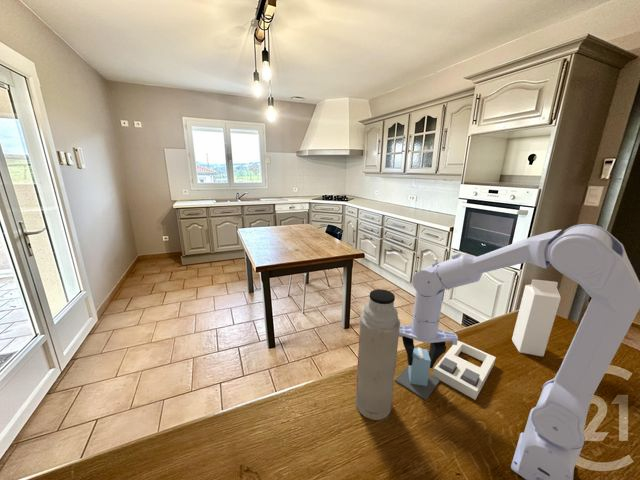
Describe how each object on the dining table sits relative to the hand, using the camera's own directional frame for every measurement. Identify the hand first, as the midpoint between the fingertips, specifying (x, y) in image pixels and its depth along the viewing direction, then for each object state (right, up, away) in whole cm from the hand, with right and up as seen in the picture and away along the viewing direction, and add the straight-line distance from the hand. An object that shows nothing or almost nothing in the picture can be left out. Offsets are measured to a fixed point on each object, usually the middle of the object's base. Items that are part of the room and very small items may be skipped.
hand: (419, 363), depth 65 cm
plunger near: (+12, -5, 0) cm, 13 cm away
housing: (+14, -4, +5) cm, 15 cm away
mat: (0, -5, +2) cm, 5 cm away
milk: (+37, -2, +14) cm, 40 cm away
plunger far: (+8, -4, +3) cm, 10 cm away
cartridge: (0, -5, +2) cm, 5 cm away
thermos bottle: (-12, -7, -5) cm, 15 cm away
